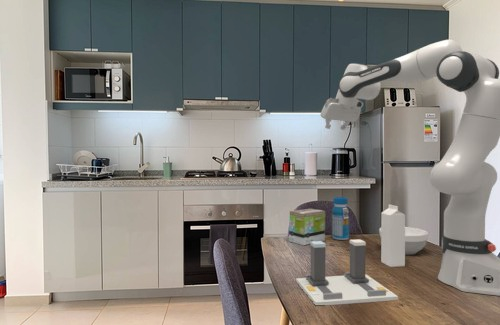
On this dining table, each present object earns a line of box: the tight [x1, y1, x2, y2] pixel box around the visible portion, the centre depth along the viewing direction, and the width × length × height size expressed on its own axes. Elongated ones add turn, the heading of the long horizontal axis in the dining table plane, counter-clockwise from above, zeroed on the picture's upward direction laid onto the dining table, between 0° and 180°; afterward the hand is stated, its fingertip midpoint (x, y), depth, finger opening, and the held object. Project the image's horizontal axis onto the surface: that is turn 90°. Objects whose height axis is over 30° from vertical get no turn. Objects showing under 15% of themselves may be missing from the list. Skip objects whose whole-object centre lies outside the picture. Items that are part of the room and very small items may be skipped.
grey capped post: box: [307, 241, 329, 286], centre depth 103 cm, size 5×5×12 cm
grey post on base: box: [346, 239, 369, 283], centre depth 105 cm, size 5×5×12 cm
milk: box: [380, 204, 406, 268], centre depth 124 cm, size 6×6×22 cm
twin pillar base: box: [295, 271, 399, 306], centre depth 100 cm, size 24×18×2 cm
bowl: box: [378, 226, 429, 256], centre depth 142 cm, size 19×19×9 cm
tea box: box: [288, 208, 326, 246], centre depth 159 cm, size 15×10×15 cm
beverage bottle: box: [331, 196, 350, 241], centre depth 165 cm, size 8×8×20 cm
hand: (335, 128), depth 154 cm, fingers open, 8 cm apart
